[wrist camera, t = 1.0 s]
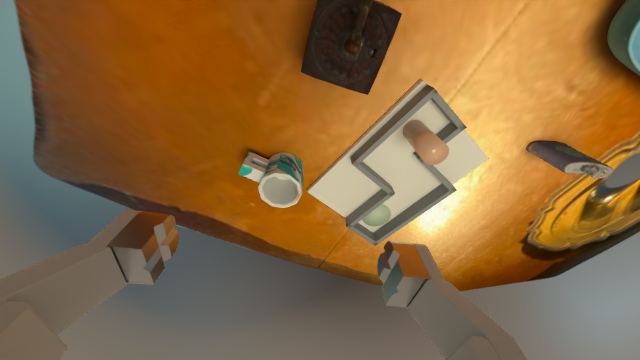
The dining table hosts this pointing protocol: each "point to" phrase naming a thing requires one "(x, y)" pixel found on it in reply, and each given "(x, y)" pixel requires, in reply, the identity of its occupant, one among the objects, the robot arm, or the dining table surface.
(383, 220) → the pad
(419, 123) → the peg
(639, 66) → the casserole dish
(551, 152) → the flask
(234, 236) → the dining table surface
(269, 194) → the mug
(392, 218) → the channel
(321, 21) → the coffee grinder
